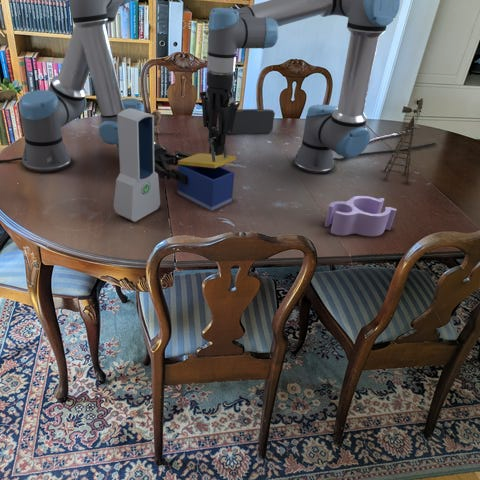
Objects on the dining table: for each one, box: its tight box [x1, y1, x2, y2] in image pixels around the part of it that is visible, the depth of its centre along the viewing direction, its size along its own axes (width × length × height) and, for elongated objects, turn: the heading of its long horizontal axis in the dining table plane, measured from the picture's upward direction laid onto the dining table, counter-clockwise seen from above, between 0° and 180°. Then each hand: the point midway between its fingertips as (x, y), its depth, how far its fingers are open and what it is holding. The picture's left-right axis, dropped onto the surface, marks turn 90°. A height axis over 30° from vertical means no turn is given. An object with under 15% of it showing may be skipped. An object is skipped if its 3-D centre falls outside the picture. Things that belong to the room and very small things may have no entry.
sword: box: [369, 131, 410, 143], centre depth 215 cm, size 31×3×1 cm, turn 126°
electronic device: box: [112, 108, 161, 223], centre depth 130 cm, size 12×8×30 cm, turn 148°
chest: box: [176, 164, 235, 212], centre depth 147 cm, size 15×10×10 cm, turn 50°
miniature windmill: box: [383, 97, 424, 184], centre depth 169 cm, size 9×8×30 cm
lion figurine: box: [150, 110, 162, 127], centre depth 189 cm, size 15×5×9 cm, turn 110°
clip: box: [324, 195, 398, 237], centre depth 141 cm, size 20×12×7 cm, turn 109°
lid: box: [178, 136, 237, 168], centre depth 142 cm, size 16×10×8 cm, turn 50°
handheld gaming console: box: [227, 108, 276, 135], centre depth 201 cm, size 23×3×10 cm, turn 108°
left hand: (198, 175), depth 148 cm, fingers closed on chest, 10 cm apart
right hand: (216, 153), depth 139 cm, fingers closed on lid, 2 cm apart
